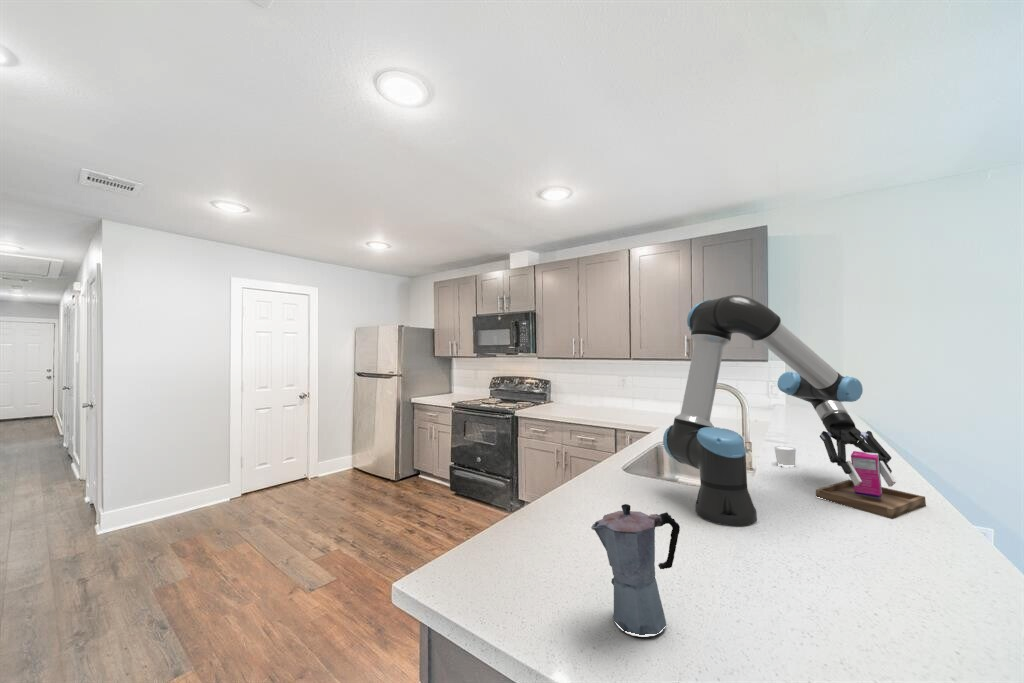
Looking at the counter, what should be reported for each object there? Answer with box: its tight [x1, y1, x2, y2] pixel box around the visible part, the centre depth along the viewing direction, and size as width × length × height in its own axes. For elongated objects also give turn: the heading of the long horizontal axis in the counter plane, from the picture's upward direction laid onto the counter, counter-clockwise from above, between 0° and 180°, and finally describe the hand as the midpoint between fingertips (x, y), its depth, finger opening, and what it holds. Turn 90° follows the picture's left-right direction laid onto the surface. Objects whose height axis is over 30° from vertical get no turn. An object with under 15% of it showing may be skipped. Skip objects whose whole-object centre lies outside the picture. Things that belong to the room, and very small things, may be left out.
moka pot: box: [591, 503, 681, 635], centre depth 68 cm, size 10×15×20 cm, turn 95°
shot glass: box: [774, 445, 797, 466], centre depth 152 cm, size 7×7×7 cm
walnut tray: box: [815, 479, 927, 520], centre depth 114 cm, size 18×18×2 cm
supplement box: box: [850, 450, 883, 498], centre depth 114 cm, size 6×6×12 cm
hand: (875, 483), depth 111 cm, fingers closed on supplement box, 8 cm apart
